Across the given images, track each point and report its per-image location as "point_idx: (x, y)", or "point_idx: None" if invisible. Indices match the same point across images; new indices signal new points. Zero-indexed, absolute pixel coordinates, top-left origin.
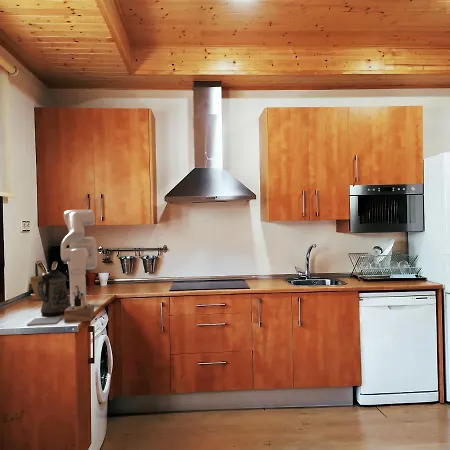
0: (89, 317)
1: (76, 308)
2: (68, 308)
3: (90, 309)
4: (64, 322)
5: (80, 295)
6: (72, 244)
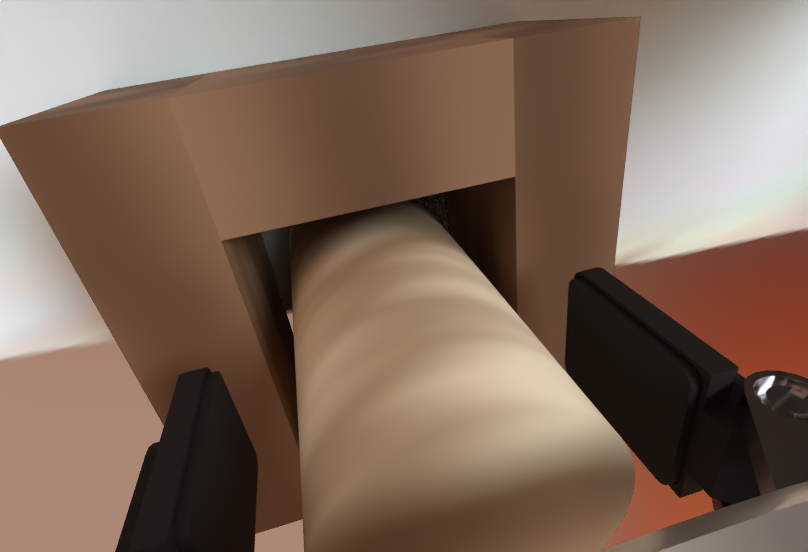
0: None
1: (294, 322)
2: (343, 120)
3: (260, 525)
4: (104, 91)
5: (708, 454)
6: None
